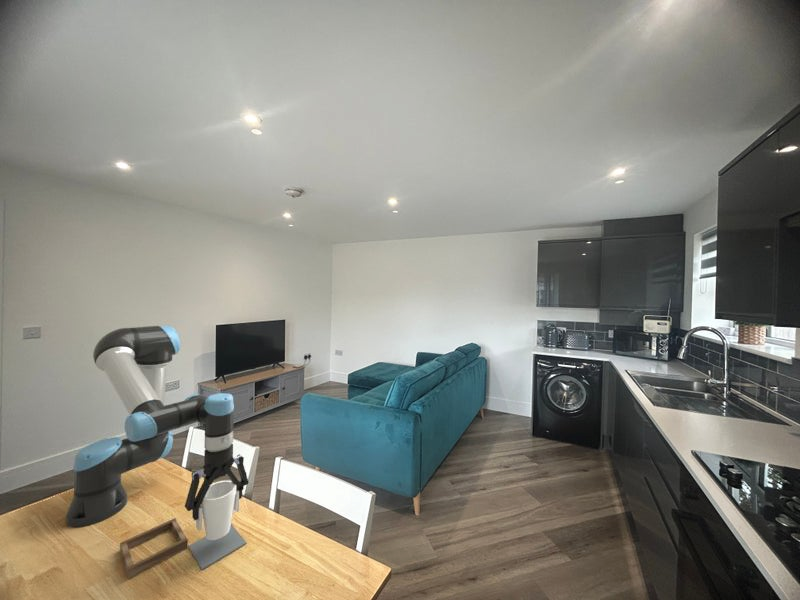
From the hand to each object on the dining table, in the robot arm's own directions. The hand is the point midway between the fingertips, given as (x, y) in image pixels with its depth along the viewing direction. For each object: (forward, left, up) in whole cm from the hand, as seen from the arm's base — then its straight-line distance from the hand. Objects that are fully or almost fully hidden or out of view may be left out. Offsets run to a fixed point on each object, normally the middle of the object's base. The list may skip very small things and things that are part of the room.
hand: (218, 518), depth 92 cm
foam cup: (0, 0, -4) cm, 4 cm away
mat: (0, 0, -8) cm, 8 cm away
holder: (-13, -13, -8) cm, 20 cm away
